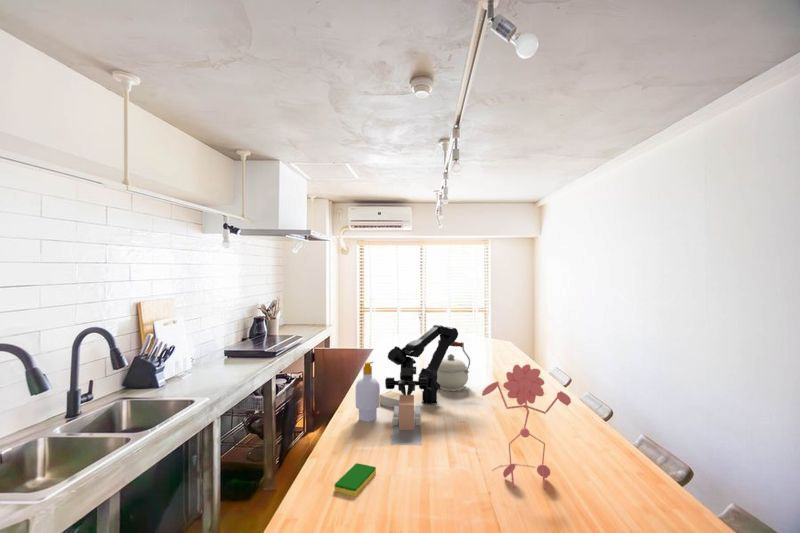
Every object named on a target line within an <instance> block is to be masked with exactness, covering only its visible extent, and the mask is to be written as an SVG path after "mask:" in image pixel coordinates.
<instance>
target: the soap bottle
mask: <svg viewBox="0 0 800 533" xmlns="http://www.w3.org/2000/svg"><path fill="white" fill-rule="evenodd" d="M371 364H374V361H367V362H364V366H363V367H362V369H363V370H362V372H363V373H362V376H363V377H362V378H361V377H360V379H359V380H358V381H357V382H356V384H355V408H356V409H358V420H360V421H362V422H374V421H375V420H376V419H377V416H378V415H377V414H378V413H377V410H378V408H380V406H381V405H380V395H381V394H380V390H381V389H380V388H381V387H380V383H379V381H378V380H377V379H376V378H374V377H373V372H372V370H373V368H372V367H373V366H371Z"/></svg>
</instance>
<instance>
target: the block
mask: <svg viewBox="0 0 800 533" xmlns="http://www.w3.org/2000/svg"><path fill="white" fill-rule="evenodd" d="M414 411H415V395H414V394H411V395H407V394H406V395H400V398H399V430H414Z"/></svg>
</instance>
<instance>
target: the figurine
mask: <svg viewBox="0 0 800 533" xmlns="http://www.w3.org/2000/svg"><path fill="white" fill-rule="evenodd" d="M540 375H541V370H540V369H539V368H532V369H531V365H530V364H528V363H527V364H524V365H523V366H522V367H521V366H520V365H519V364H514V366H513V368H512V372H511V371H507V372H506V380H507V381H506V382H504V383H503V385H502V387H503V388H505V389H506V390H507V391H508V392H507V398H509V399H516V402H517V404H518V405H514V406H508V405H507V401H506V399H505V397H504V394H503V392H502V389H501V387H500V384H499V383H500V382H499V381H495V382H492V383H490V384H489V385H487V386H486V387H484V388H483V391H482V393H481V395H482V397H484V396H486V395H489V394H491V393H492V392H494V391H495V390H496V389H498V391H499V394H500V395H501V398H502V401H503V403H504V406H505V408H506V410H507V409H509V410H510V409H518V408H519V409H520V408H524V409H526V411H527V412H526V415H525V421H524V425H523V427H522V428H521V429H520V432H519V434H518V435H516V436H515V437H514V438H513V439H512V440H511V441H510V442H509V443H508V453H509V464H508V465H507V464H505V465H502V464H500V465H498V466H497V467H494V468H493V469H492V471H493V470H495V469H497V468H501V467H505V469H504V470H503V473H502V475H503V478H504V479H506V478H507V477H508V476H509V475H511V485H512V487H511V488H515V481H514V479H515V478H514V470H515V469H516V466H520V463H519V464H518V463H512V457H511V456H512V455H511V444H512V443H513V442H514V441H516V439H517V438H519V437H520V436H521V437H523V438H528V437H529V436H530V437H532V438H533V439H535V440H537V441H538V442H540V443H541V444H543V451H542V452H543V453H542V458H541V460H542V461H541V464H539V465H538V466H537V468H536V472H537V473H538V475H539V476H541V477H542V483H543V489H544V490H545V489H547V487H546V479H547V478H548V477H549V476H550V475H551V469H550V468H549V466H547V465H545V464H544V460H545V452H546V451H545V450H546V444H545V442H544V441H542V440H541V439H540V438H538V437H536V436H535V435H533V434H531V433H530V431H529V429H528V428H526V426H527V423H528V418H529V414H530V409H531V410H533V411H536V412H538V413H541V414H544V415H546V414H547V413H548V412H549V411H550V410H551V408H552V407H553V406H554V405H555V403H556V402H557V401H558V400H559V402H560V403H562V404H563V405H565V406H569V405H570V404H571V403H572V399H571V398H570V396H569V395H568V394H567V393H565V392H563V391H561V390H560V391H558V392H557V393H556V397H555V399H554V400H553V401H552V402H551V404H550V405H549V406H548V407H547V409H546V410H545V411H543V410H541V409H538V408H535V407H532V406H530V405H528V403H529V404H534V403H535V401H536V398H537V397H543V396H544V395H545V392H544V389H543V387H542V386H544V385H545V380H544V379H543V378H542V377H540ZM524 466H526V467H529V465H527V464H524ZM530 467H531V468H534V466H533V465H530Z"/></svg>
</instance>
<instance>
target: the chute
mask: <svg viewBox="0 0 800 533" xmlns="http://www.w3.org/2000/svg"><path fill="white" fill-rule="evenodd" d="M420 408H421V407H420V405H414V430H399V406H394V408H393V414H392V415H393V416H392V432H391V441H390V445H391V446H395V445H396V446H398V445H399V446H400V445H401V446H403V445H404V446H422V444H423V443H422V430H421V429H422V428H421V409H420Z"/></svg>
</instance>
